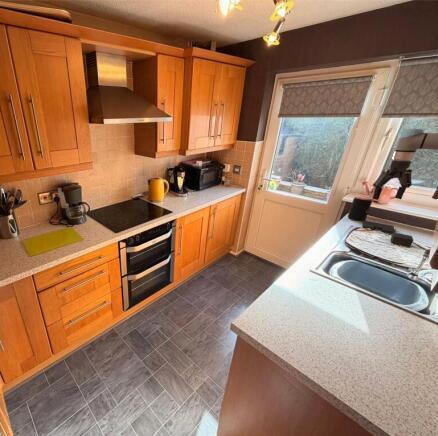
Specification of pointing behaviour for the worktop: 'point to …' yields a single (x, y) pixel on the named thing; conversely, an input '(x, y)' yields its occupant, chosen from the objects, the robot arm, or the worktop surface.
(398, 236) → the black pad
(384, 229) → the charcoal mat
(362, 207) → the coffee jar
